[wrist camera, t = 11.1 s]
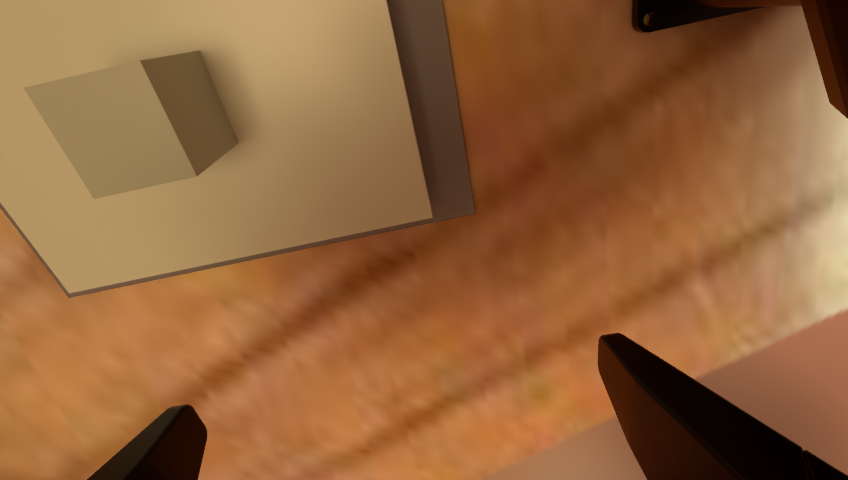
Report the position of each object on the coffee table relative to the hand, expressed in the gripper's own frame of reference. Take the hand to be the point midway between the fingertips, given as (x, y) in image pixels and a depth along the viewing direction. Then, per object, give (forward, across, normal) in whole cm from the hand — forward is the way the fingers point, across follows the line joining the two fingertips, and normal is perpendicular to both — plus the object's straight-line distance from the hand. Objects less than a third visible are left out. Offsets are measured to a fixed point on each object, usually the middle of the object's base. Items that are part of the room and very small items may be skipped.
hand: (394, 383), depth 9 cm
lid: (+12, +8, -5) cm, 16 cm away
